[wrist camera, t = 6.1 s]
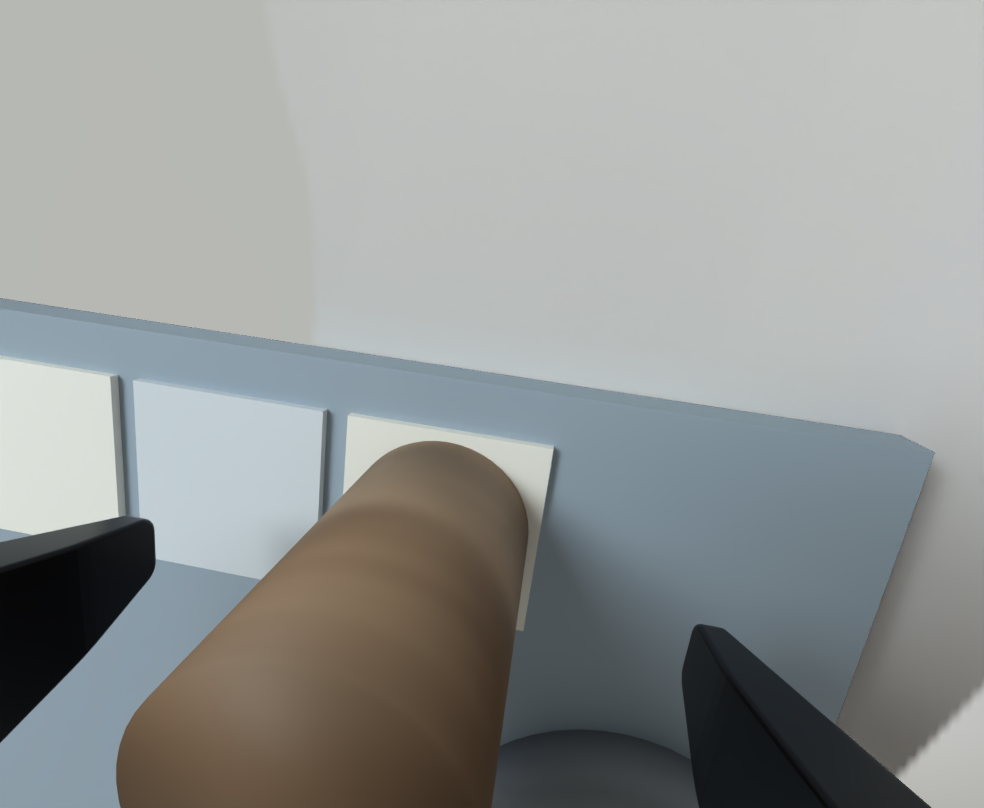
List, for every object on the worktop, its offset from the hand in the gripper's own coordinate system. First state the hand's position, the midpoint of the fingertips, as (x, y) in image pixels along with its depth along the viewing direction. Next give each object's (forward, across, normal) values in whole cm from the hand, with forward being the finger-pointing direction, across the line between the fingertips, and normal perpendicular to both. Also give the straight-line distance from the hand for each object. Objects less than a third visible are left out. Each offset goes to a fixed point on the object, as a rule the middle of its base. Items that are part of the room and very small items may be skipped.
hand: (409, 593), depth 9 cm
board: (+3, +4, +4) cm, 6 cm away
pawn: (+2, 0, 0) cm, 2 cm away
